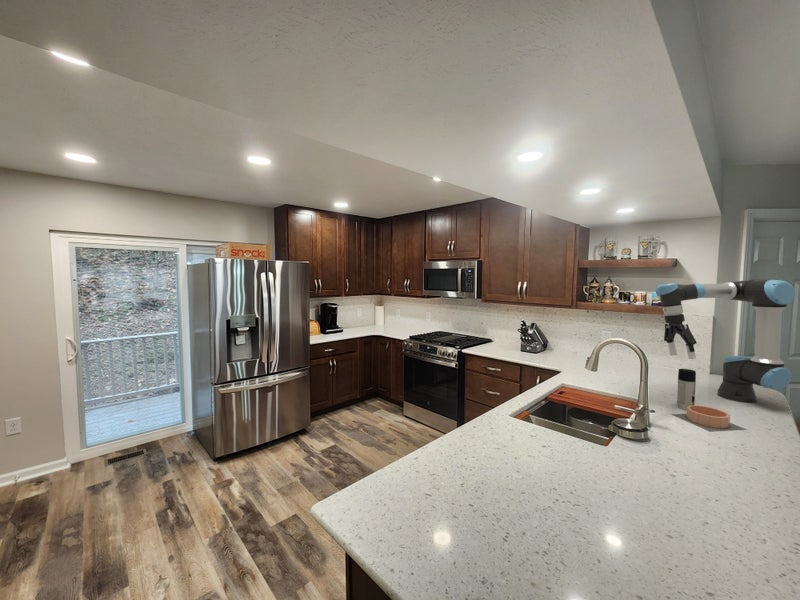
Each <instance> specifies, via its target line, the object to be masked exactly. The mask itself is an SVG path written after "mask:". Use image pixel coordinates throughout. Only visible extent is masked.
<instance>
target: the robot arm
mask: <svg viewBox="0 0 800 600" xmlns="http://www.w3.org/2000/svg"><path fill="white" fill-rule="evenodd" d="M655 295H656V296H657V297H659V298H660V302H661V306H662V307H661V308H662V311H663V315H664V321H665V324H664V335H663V340H664V342H666V343H667V346H668V351H669V356H677V355H678V353H677V348H676V347H677V346H676V343H675V337H676V334H677V335H679V336H680V338H681V339H682V340H683V341H684V343H685V347H686V353H687V357H688V360H694V359H695V360H696V359H697V356H696V352H695V346H694V345H696V344H697V340H696V338H695V337H694V335H693V333H692V331H691V329H690V327H689V324H688V323H685V324H684V323H683V322H685V321H686V320H685V315H684V314H683V313H684V309H683V305H682V302H683V301H690V300H697V299H723V300H727V301H730V300H732V301H739V302H740V301H741V302H747V303H751V307H752V308H753V309H755V333H754V334H755V335H754V356H745V355H743V356H741V355H726V356H725V357H724V359H723V364H722V365H723V366H722V367H723V368H722V381H721V383H720V385H719V387H718V389H717V395H718V396H719V397H721V398H724V399H727V400H731V401H735V402H742V403H756V402H757V400H758V397H757V394H756V392H755V388H754V385H756V386H760V387H763V388H765V389H771V390H781V389H784V388H785V387H786V386H788V385H790V382H791V380H792V372H791V371H790V369H788V368H786V367H785V362H784V361H783V360H782V359H781V339H782V337H781V336H782V335H781V334H782V320H783V319H782V318H783V317H782V314H783V313H782V312H783V311H784V310H785V309H787V307H788V304H791V303H792V302H793V300H794V299H795V297H796V291H795V288H794V286H793V285H792V284H790V283H789V282H788V281H786V280H781V279H780V280H779V279H748V280H747V279H746V280H739V281H738V280H736V281H725V282H723V283H699V282H697V283H682V284H681V283H677V282H672V283H665V284H664V283H662V284H659V285H658V286H657V287H656V289H655Z"/></svg>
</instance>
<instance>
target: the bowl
mask: <svg viewBox="0 0 800 600" xmlns="http://www.w3.org/2000/svg"><path fill="white" fill-rule="evenodd" d="M685 414H686V416H687V419H688V420H690V421H692V422H694V423H696V424H699V425H703V426H707V427H712V428H721V429H724V428H728V427H729V425H730V423H731V421H730V420H731V414H730V413H728V412H727V411H724V410H721V409H719V408H715V407H711V406H706V405H698V404H696V405H689V406H688V407H687V410H685Z"/></svg>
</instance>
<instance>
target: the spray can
mask: <svg viewBox="0 0 800 600" xmlns="http://www.w3.org/2000/svg"><path fill="white" fill-rule="evenodd" d="M696 375H697V371H696V370H694V369H688V368H678V375H677V393H676V394H677V395H676V408H677V409H679V410H681V411H686V410H687V407H688V406H689V405H695V400H696V399H695V398H696V381H697V376H696Z"/></svg>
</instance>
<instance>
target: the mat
mask: <svg viewBox="0 0 800 600" xmlns="http://www.w3.org/2000/svg"><path fill="white" fill-rule="evenodd" d="M670 415H671V416H674V417H675V418H677V419H680V420H683V421H685V422H687V423H689V424H691V425H694V426H696V427H698V428H700V429H702V430H706V431H708V432H728V431H730V432H731V431H748V429H747V428H745V427H742V426H740V425H737V424H735V423H732V422H730V425H729V427H728V428H724V429H721V428H712V427H707V426H703V425H699V424H696V423H694V422H692V421H690V420H688V419H687V416H686V413H671V414H670Z"/></svg>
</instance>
